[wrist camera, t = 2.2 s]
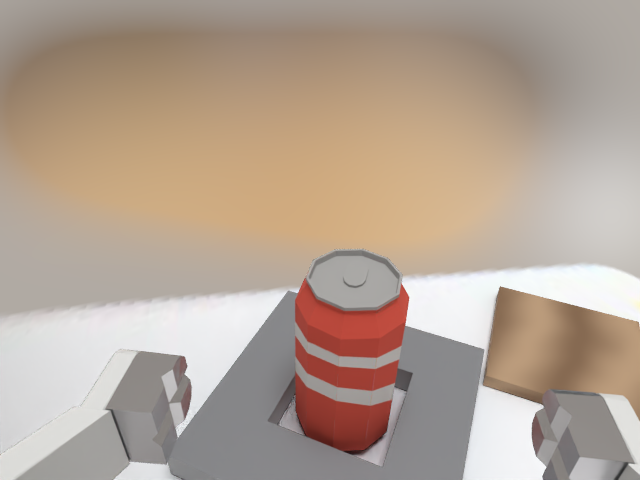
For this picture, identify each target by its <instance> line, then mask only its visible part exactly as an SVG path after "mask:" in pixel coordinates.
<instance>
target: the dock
mask: <svg viewBox="0 0 640 480" xmlns="http://www.w3.org/2000/svg"><path fill="white" fill-rule="evenodd" d="M297 295H298V293H294V292H291V291H288V292H287V293H286V295H285V296H284V297H283V299H282V300H281V301H280V303H279V304H278V305H277V307H276V308H275V309H274V311H273V312H272V313H271V315H270V316H269V317H268V319H267V320H266V321H265V323H264V324H263V325H262V327H261V328H260V329H259V331H258V332H257V333H256V335H255V336H254V337H253V339H252V340H251V341H250V343H249V344H248V345H247V347H246V348H245V349H244V351H243V352H242V353H241V355H240V356H239V357H238V359H237V360H236V361H235V363H234V364H233V365H232V367H231V368H230V369H229V371H228V372H227V373H226V375H225V376H224V377H223V379H222V380H221V381H220V383H219V384H218V385H217V387H216V388H215V389H214V391H213V392H212V393H211V395H210V396H209V397H208V399H207V400H206V401H205V403H204V404H203V406H202V407H201V408H200V410H199V411H198V412H197V414H196V415H195V416H194V418H193V419H192V420H191V422H190V423H189V424H188V426H187V427H186V428H185V430H184V431H183V432H182V434H181V435H180V436H179V438H178V439H177V440H176V443H175V445H174V448H173V450H172V453H171V455H170V458H169V460H168V464H169V468H170V471H171V474H173V475H175V476H177V477H179V478H181V479H184V480H462V478H463V472H464V467H465V461H466V455H467V449H468V443H469V437H470V431H471V425H472V420H473V414H474V408H475V402H476V396H477V390H478V384H479V378H480V373H481V367H482V361H483V355H484V349H481V348H478V347H474V346H471V345H468V344H464V343H461V342H458V341H454V340H451V339H448V338H444V337H441V336H438V335H434V334H431V333H428V332H424V331H421V330H418V329H414V328H411V327H408V326H405V329H404V335H403V340H402V346H401V352H400V358H399V363H398V369H397V375H396V380H395V386H394V387H397V388H400V389H403V390H406V391H407V393H406V397H405V400H404V403H403V406H402V409H401V412H400V415H399V418H398V421H397V424H396V427H395V431H394V434H393V437H392V440H391V443H390V446H389V449H388V452H387V455H386V458H385V461H384V465H383V467H380V466H378V465H375V464H373V463H370V462H368V461H366V460H363V459H361V458H358V457H356V456H353V455H351V454H348V453H346V452H343V451H341V450H338V449H336V448H333V447H331V446H328V445H326V444H323V443H321V442H318V441H316V440H313V439H311V438H308V437H306V436H303V435H301V434H298V433H296V432H293V431H291V430H288V429H286V428H284V427H281V426H279V425H277V424H278V423H279V421H280V419H281V417H282V416H283V414H284V412H285V410H286V409H287V407H288V405H289V403H290V401H291V400H292V398H293V396H294V394H295V393H296V385H295V299H296V297H297Z"/></svg>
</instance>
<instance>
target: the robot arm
mask: <svg viewBox="0 0 640 480" xmlns="http://www.w3.org/2000/svg"><path fill="white" fill-rule="evenodd" d="M186 368H187V364H186V360H185V357H184V356H178V355H169V354H161V353H153V352H144V351H134V350H125V349H120V350H118V351H117V352H116V353H115V354H114V355H113V356H112V358H111V359H110V361H109V362H108V364H107V366H106V367H105V369H104V370H103V372H102V373H101V375H100V377H99V378H98V380H97V381H96V383H95V384H94V386H93V388H92V389H91V391H90V392H89V394H88V395H87V397H86V399H85V400H84V402H83V403H82V405H81V406H80V407H73V408H71V409H69V410H68V411H66V412H65V413H63V414H62V415H60V416H59V417H57V418H56V419H54V420H53V421H51V422H50V423H48V424H46V425H45V426H43V427H42V428H40V429H39V430H37V431H36V432H34V433H33V434H31V435H30V436H28V437H27V438H25V439H23V440H22V441H20V442H19V443H17V444H16V445H14V446H13V447H11V448H10V449H8V450H7V451H5V452H4V453H2V454H1V455H0V480H113V479H114V478H115V477H116V476H118V475H119V474H120V473H121V472H122V471H123V470H124V469H125V468H126V467H127V466H128V465H129V464H130V463H129V462H141V463H153V464H165V465H167V462H168V460H169V458H170V455H171V453H172V450H173V448H174V445H175V443H176V440H177V438H178V437H177V433H176V429H175V427H177V426H178V425H179V424H180V423H182V422H183V421H184V420H185V418H186V415H187V412H188V410H189V405H190V400H191V382H190V379H189V378H188V377H187V376H186V375H184V373H185V371H186ZM542 403H543V406H544V408H543V409H541V410H540V411H538V412H536V414H535V417H534V419H533V422H532V441H533V447H534V450H535V454H536V457H537V458H538V459H539V460H540V461H541V462H542V463H543V464H544V465H545V466H546V467H547V468H546V470H545V472H544V474H543V476H542V477H543V480H640V421H639V419H638V417H637V416H636V414H635V412H634V410H633V408H632V406H631V405H630V403H629V401H628V399H626V398H625V397H624V396H623V395H613V394H602V393H594V392H582V391H570V390H557V389H548V390H547V391H546V392H545V393H544V395H543V398H542Z"/></svg>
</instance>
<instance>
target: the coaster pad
mask: <svg viewBox="0 0 640 480" xmlns="http://www.w3.org/2000/svg"><path fill="white" fill-rule="evenodd" d="M483 385H485V386H488V387H491V388H494V389H497V390H500V391H504V392H507V393H510V394H513V395H516V396H519V397H522V398H525V399H528V400H531V401H534V402H538V403H541V404H543V403H542V398H543V395H544V393H545V392H546V391H547V390H548V389H557V390H570V391H582V392H594V393H602V394H613V395H623V396H624V397H625V398H626V399H628V401H629V403H630V405H631V406H632V408H633V410H634V412H635V414H636V416H637V417H638V419H639V421H640V327H639V322H637V321H633V320H629V319H625V318H621V317H617V316H613V315H609V314H605V313H602V312H598V311H594V310H590V309H586V308H582V307H578V306H574V305H570V304H566V303H563V302H559V301H555V300H551V299H547V298H543V297H539V296H535V295H531V294H527V293H524V292H520V291H516V290H512V289H508V288H504V287H500V288H499V291H498V295H497V300H496V307H495V313H494V319H493V325H492V332H491V338H490V344H489V350H488V357H487V363H486V369H485V375H484V382H483Z"/></svg>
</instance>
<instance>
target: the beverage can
mask: <svg viewBox="0 0 640 480" xmlns="http://www.w3.org/2000/svg"><path fill="white" fill-rule="evenodd" d="M402 276H403V275H402V273H401V272H400V271H399V270H398V269H397V268H396V267H395V265H394V264H393V263H392V262H391V261H390V260H389V259H388V258H386V257H384V256H381V255H378V254H375V253H373V252H370V251H367V250H364V249H339V250H338V249H337V250H336V249H335V250H333V251H331V252H329V253H327V254H324V255H322V256H320V257H318V258H316V259H314V260H313V262H312V264H311V266H310V268H309V271H308V273H307V275H306V278H305V279H304V281H303V283H302V286H301V288H300V290H299V292H298V295H297V297H296V299H295V385H296V413H297V415H298V417H299V420H300V422H301V425H302V427H303V429H304V432H305V434H306V436H308V437H309V438H311V439H313V440H316V441H318V442H321V443H323V444H326V445H328V446H331V447H333V448H336V449H338V450H341V451H351V450H365V449H366V448H367V447H369V446H370V445H371V444H372V443H373V442H375V441H376V440H377V439H378V438H380V437H381V436H382V435H383V434H384V433H386V432H387V426H388V420H389V415H390V409H391V403H392V397H393V392H394V386H395V380H396V375H397V369H398V363H399V358H400V352H401V346H402V340H403V335H404V329H405V323H406V317H407V310H408V302H409V296H408V294H407V292H406V291H405V289H404V287H403V285H402V283H401V282H402Z"/></svg>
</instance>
